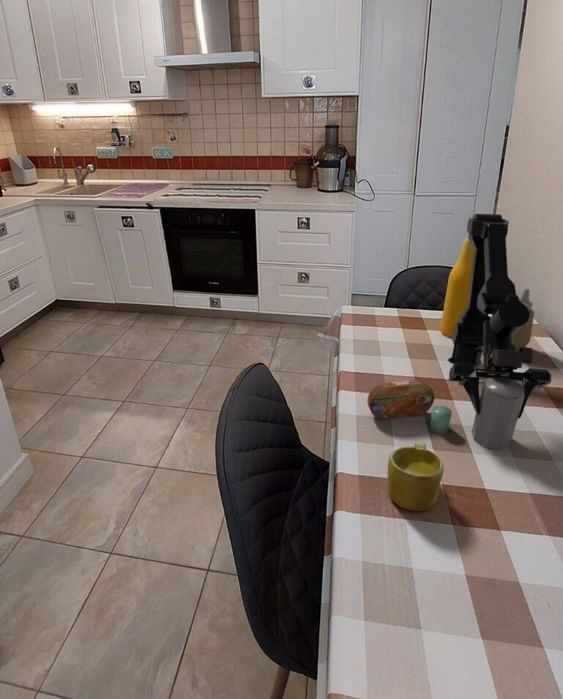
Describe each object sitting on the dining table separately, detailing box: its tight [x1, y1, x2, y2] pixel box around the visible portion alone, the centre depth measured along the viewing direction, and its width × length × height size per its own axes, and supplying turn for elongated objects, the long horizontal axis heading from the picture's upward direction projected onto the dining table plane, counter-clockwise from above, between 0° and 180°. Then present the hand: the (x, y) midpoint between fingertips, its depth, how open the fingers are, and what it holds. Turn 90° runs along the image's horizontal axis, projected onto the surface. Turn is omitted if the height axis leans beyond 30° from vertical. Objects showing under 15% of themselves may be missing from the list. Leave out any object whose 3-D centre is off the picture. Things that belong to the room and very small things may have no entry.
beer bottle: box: [439, 237, 474, 339], centre depth 139 cm, size 9×9×29 cm
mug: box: [387, 440, 444, 512], centre depth 85 cm, size 12×10×10 cm
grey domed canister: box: [471, 377, 525, 450], centre depth 97 cm, size 7×7×13 cm
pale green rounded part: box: [429, 405, 453, 434], centre depth 103 cm, size 4×4×4 cm
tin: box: [366, 379, 435, 421], centre depth 106 cm, size 15×3×8 cm, turn 99°
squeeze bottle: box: [513, 288, 535, 351], centre depth 133 cm, size 8×8×18 cm
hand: (498, 416), depth 96 cm, fingers closed on grey domed canister, 7 cm apart
